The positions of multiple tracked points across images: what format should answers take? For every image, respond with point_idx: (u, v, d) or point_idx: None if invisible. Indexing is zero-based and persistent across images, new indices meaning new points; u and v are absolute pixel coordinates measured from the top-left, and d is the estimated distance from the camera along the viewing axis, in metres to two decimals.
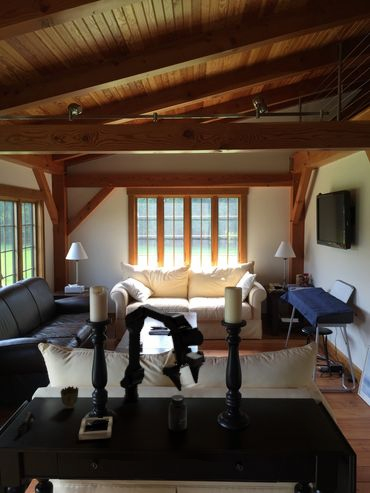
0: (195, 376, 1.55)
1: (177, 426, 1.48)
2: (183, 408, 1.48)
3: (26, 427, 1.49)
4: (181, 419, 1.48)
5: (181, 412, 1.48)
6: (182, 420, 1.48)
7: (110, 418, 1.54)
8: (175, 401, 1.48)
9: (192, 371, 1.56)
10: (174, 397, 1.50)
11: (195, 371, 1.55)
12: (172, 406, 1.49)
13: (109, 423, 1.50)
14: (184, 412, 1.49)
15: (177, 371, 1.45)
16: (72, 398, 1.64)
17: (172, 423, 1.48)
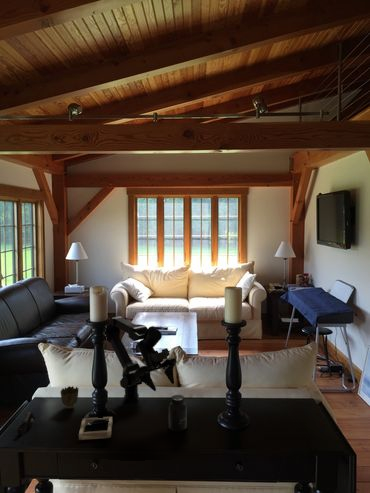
0: (170, 377, 1.61)
1: (177, 426, 1.48)
2: (183, 408, 1.48)
3: (26, 427, 1.49)
4: (181, 419, 1.48)
5: (181, 412, 1.48)
6: (182, 420, 1.48)
7: (110, 418, 1.54)
8: (175, 401, 1.48)
9: (167, 374, 1.62)
10: (174, 397, 1.50)
11: (169, 372, 1.61)
12: (172, 406, 1.49)
13: (109, 423, 1.50)
14: (184, 412, 1.49)
15: (145, 370, 1.54)
16: (72, 398, 1.64)
17: (172, 423, 1.48)
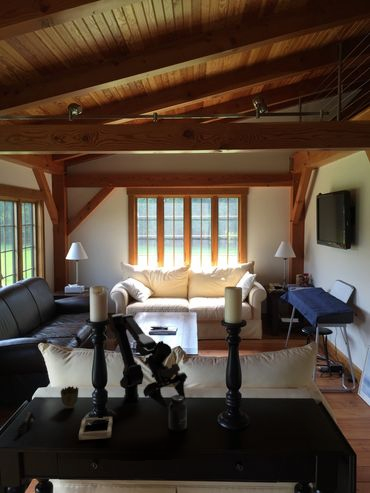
0: (181, 393, 1.56)
1: (177, 426, 1.48)
2: (183, 408, 1.48)
3: (26, 427, 1.49)
4: (181, 419, 1.48)
5: (181, 412, 1.48)
6: (182, 420, 1.48)
7: (110, 418, 1.54)
8: (175, 401, 1.48)
9: (178, 390, 1.58)
10: (174, 397, 1.50)
11: (180, 388, 1.57)
12: (172, 406, 1.49)
13: (109, 423, 1.50)
14: (184, 412, 1.49)
15: (155, 386, 1.49)
16: (72, 398, 1.64)
17: (172, 423, 1.48)
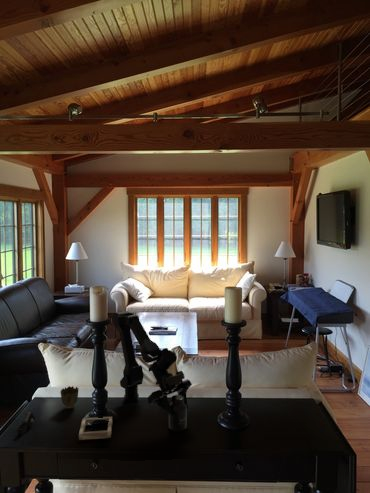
0: (184, 402, 1.53)
1: (177, 426, 1.48)
2: (183, 408, 1.48)
3: (26, 427, 1.49)
4: (181, 418, 1.48)
5: (181, 412, 1.48)
6: (182, 420, 1.48)
7: (110, 418, 1.54)
8: (175, 401, 1.48)
9: None
10: (174, 397, 1.50)
11: None
12: (172, 406, 1.49)
13: (109, 423, 1.50)
14: (184, 412, 1.49)
15: (159, 394, 1.47)
16: (72, 398, 1.64)
17: (172, 423, 1.48)
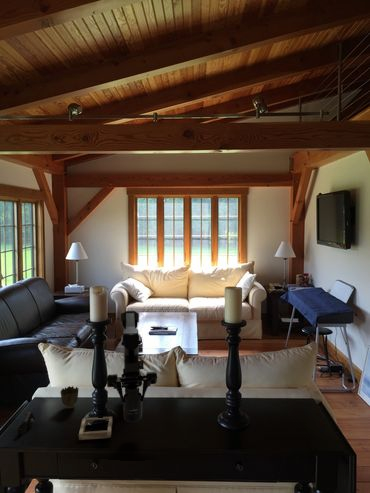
0: (142, 393, 1.46)
1: (127, 415, 1.43)
2: (133, 399, 1.42)
3: (26, 427, 1.49)
4: (130, 409, 1.42)
5: (130, 402, 1.42)
6: (131, 411, 1.42)
7: (110, 418, 1.54)
8: (127, 389, 1.43)
9: None
10: (129, 385, 1.45)
11: None
12: (125, 394, 1.45)
13: (109, 423, 1.50)
14: (134, 403, 1.42)
15: (113, 378, 1.46)
16: (72, 398, 1.64)
17: (124, 411, 1.44)
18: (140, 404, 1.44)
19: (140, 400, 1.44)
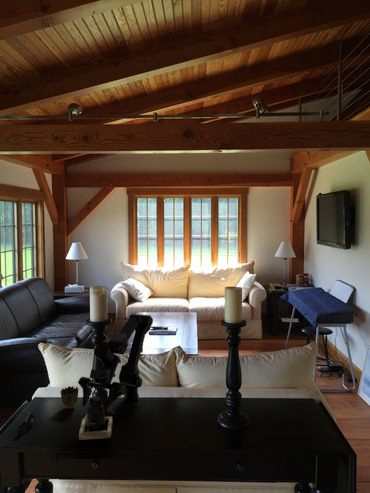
0: None
1: (87, 426, 1.48)
2: (91, 412, 1.46)
3: (26, 427, 1.49)
4: (89, 421, 1.46)
5: (89, 415, 1.46)
6: (89, 423, 1.46)
7: (110, 418, 1.54)
8: None
9: None
10: (94, 398, 1.50)
11: None
12: None
13: (109, 423, 1.50)
14: (92, 416, 1.46)
15: (82, 381, 1.53)
16: (72, 398, 1.64)
17: None
18: (99, 419, 1.46)
19: (99, 415, 1.46)
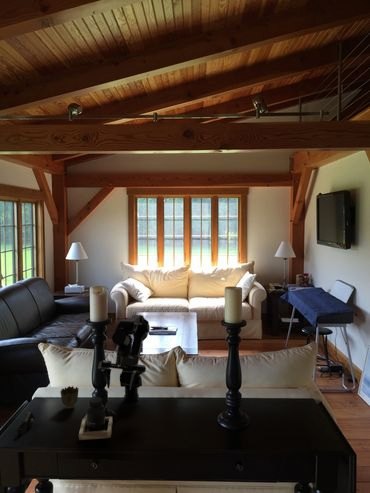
0: (131, 383, 1.60)
1: (87, 426, 1.48)
2: (91, 412, 1.46)
3: (26, 427, 1.49)
4: (89, 421, 1.46)
5: (89, 415, 1.46)
6: (89, 424, 1.46)
7: (110, 418, 1.54)
8: (89, 402, 1.48)
9: (131, 378, 1.62)
10: (94, 398, 1.50)
11: (132, 378, 1.61)
12: None
13: (109, 423, 1.50)
14: (92, 416, 1.46)
15: (107, 365, 1.56)
16: (72, 398, 1.64)
17: None
18: (99, 419, 1.46)
19: (99, 415, 1.46)
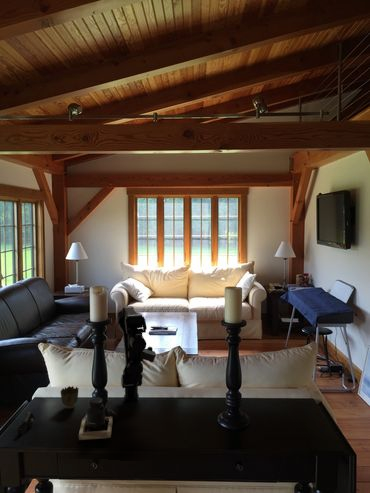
0: None
1: (87, 426, 1.48)
2: (91, 412, 1.46)
3: (26, 427, 1.49)
4: (89, 421, 1.46)
5: (89, 414, 1.46)
6: (89, 423, 1.46)
7: (110, 418, 1.54)
8: (90, 401, 1.48)
9: None
10: (94, 398, 1.50)
11: None
12: (90, 405, 1.50)
13: (109, 423, 1.50)
14: (92, 416, 1.46)
15: None
16: (72, 398, 1.64)
17: None
18: (99, 419, 1.46)
19: (99, 415, 1.46)
